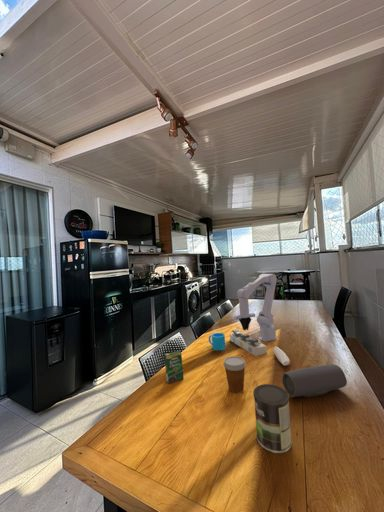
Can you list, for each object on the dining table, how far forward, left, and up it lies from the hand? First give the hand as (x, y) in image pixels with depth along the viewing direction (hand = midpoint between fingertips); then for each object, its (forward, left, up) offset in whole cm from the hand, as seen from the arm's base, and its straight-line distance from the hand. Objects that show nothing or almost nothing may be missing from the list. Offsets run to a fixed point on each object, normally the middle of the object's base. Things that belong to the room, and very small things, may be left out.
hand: (245, 329), depth 140 cm
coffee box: (+52, +16, -11) cm, 56 cm away
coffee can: (+34, +63, -11) cm, 73 cm away
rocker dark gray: (+1, 0, -4) cm, 4 cm away
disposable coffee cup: (+30, +35, -11) cm, 48 cm away
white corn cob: (-5, +24, -11) cm, 27 cm away
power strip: (0, -3, -10) cm, 11 cm away
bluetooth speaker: (+4, +52, -11) cm, 54 cm away
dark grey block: (+1, -9, -4) cm, 10 cm away
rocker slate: (+1, +9, -4) cm, 10 cm away
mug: (+17, -9, -11) cm, 22 cm away
